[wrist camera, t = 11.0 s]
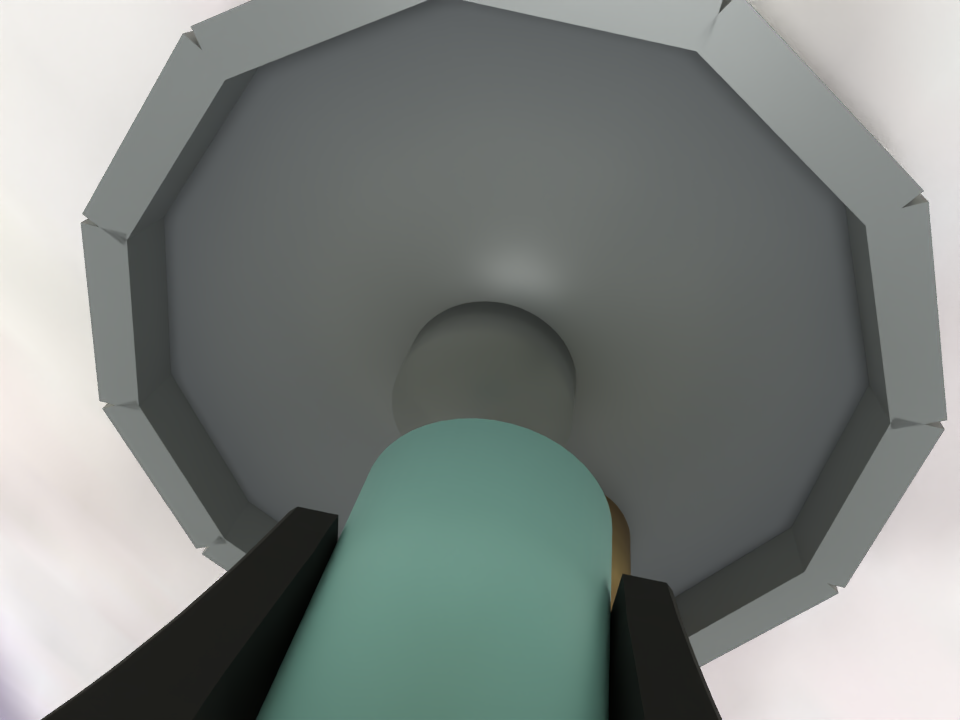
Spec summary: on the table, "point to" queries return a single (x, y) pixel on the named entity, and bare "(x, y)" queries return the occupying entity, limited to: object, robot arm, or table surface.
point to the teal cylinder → (460, 588)
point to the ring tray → (523, 279)
